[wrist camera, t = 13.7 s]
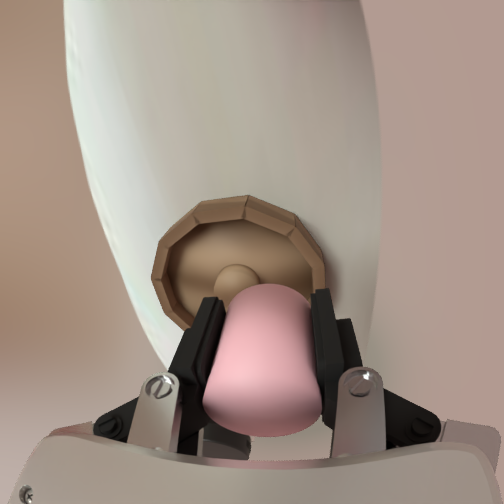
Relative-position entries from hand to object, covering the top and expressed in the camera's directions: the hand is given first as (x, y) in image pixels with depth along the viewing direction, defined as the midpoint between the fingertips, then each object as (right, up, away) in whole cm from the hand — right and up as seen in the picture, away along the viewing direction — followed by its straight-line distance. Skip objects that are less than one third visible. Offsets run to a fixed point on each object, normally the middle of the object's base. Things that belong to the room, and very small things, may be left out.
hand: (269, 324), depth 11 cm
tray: (-2, +1, +16) cm, 16 cm away
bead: (0, 0, 0) cm, 0 cm away
